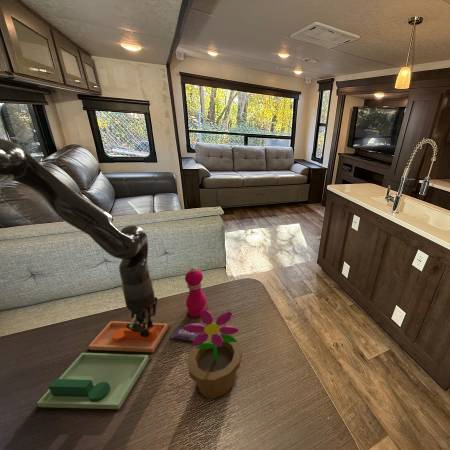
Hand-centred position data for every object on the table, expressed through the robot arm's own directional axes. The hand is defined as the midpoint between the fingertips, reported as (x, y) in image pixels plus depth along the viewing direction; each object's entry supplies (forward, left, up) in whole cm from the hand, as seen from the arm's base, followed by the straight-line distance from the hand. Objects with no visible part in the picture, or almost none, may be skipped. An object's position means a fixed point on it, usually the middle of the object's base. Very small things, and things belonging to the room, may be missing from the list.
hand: (147, 333), depth 81 cm
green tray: (-6, -15, -3) cm, 16 cm away
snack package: (+13, +2, -3) cm, 13 cm away
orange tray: (-6, 0, -3) cm, 6 cm away
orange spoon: (-5, 0, -2) cm, 5 cm away
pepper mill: (+11, +14, -3) cm, 18 cm away
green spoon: (-7, -18, -2) cm, 19 cm away
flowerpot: (+26, -13, -3) cm, 29 cm away
